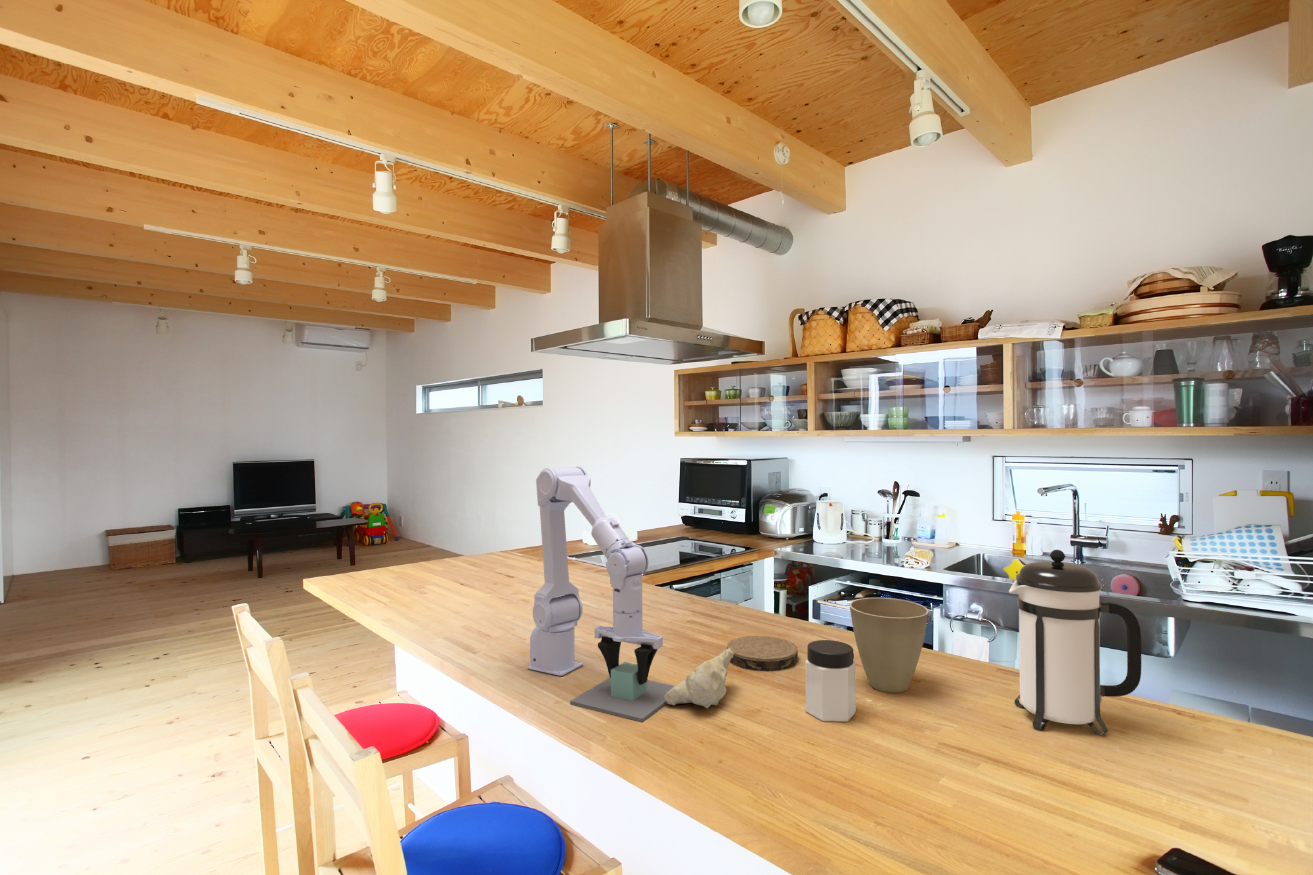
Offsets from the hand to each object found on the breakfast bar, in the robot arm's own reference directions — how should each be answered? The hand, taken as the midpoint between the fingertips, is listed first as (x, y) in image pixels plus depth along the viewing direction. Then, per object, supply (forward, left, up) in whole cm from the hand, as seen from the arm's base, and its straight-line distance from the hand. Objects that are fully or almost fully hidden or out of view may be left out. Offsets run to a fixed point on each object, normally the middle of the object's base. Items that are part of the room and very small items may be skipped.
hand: (628, 679), depth 124 cm
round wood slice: (+15, +33, -4) cm, 36 cm away
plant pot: (+43, +30, -4) cm, 53 cm away
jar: (+36, +12, -4) cm, 38 cm away
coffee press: (+73, +29, -4) cm, 79 cm away
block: (0, 0, -3) cm, 3 cm away
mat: (0, 0, -3) cm, 3 cm away
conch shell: (+13, +7, -4) cm, 15 cm away
